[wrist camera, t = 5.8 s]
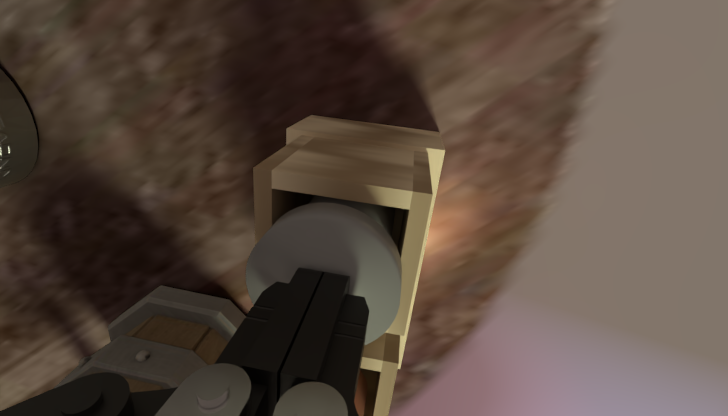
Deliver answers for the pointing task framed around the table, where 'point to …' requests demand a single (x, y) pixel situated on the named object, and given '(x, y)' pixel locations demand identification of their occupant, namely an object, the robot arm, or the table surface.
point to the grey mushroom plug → (334, 253)
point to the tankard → (164, 339)
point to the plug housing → (368, 185)
